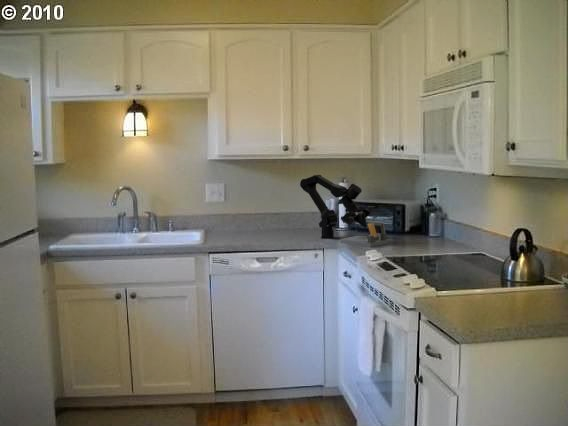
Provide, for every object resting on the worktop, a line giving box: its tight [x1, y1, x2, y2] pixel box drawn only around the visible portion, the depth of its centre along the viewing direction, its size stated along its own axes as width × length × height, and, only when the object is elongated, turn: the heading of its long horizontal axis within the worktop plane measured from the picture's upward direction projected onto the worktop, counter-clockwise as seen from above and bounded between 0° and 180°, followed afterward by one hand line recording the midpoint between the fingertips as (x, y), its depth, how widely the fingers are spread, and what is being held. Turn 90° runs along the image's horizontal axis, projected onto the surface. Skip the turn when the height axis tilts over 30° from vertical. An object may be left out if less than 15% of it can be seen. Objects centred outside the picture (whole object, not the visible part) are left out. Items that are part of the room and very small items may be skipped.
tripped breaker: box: [366, 223, 378, 240], centre depth 296 cm, size 2×4×9 cm, turn 134°
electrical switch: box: [367, 220, 386, 235], centre depth 318 cm, size 9×5×9 cm, turn 57°
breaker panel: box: [340, 232, 389, 248], centre depth 301 cm, size 20×15×6 cm
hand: (365, 227), depth 299 cm, fingers closed
